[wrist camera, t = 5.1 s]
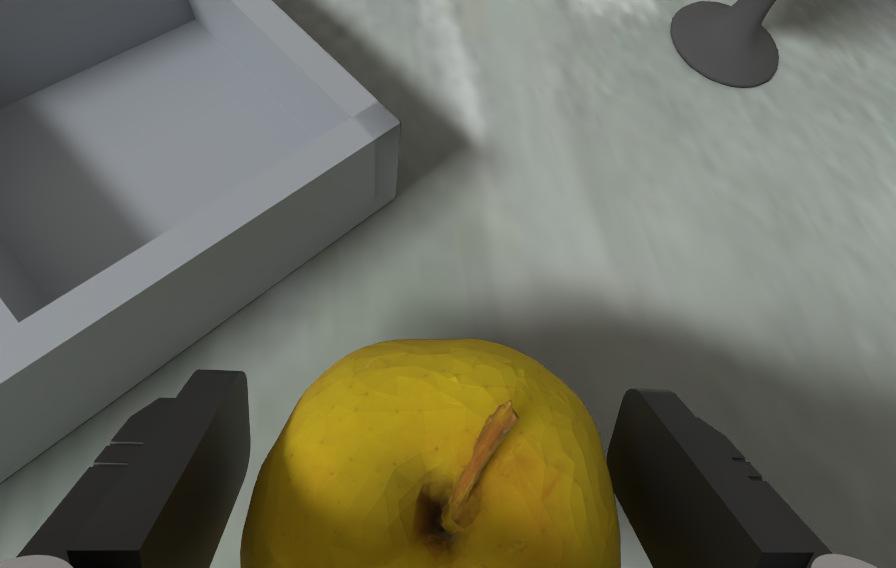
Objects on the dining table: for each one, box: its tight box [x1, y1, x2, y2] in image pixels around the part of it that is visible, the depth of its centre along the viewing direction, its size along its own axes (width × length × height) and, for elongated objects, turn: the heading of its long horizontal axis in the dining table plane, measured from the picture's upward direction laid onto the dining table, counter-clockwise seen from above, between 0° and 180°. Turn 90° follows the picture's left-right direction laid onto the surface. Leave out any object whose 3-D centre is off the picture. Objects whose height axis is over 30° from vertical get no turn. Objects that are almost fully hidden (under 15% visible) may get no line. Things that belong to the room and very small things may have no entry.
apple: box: [240, 338, 621, 568], centre depth 9 cm, size 6×6×8 cm
